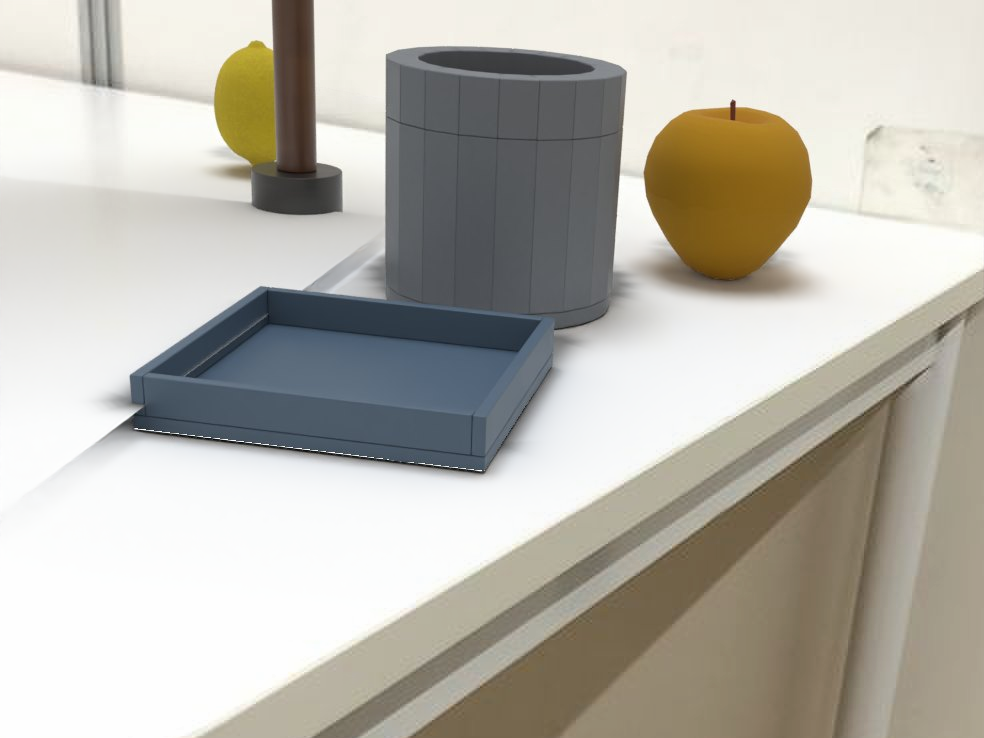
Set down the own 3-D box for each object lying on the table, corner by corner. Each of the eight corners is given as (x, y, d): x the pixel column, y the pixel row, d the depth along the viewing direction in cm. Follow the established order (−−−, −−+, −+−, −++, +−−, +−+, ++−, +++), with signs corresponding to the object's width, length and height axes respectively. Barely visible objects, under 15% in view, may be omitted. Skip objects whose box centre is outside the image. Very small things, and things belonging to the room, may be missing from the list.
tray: (133, 430, 54) (128, 374, 53) (261, 332, 66) (259, 285, 65) (484, 473, 53) (486, 416, 52) (552, 365, 64) (555, 317, 63)
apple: (674, 243, 86) (688, 80, 82) (822, 269, 83) (845, 100, 79) (609, 274, 79) (621, 97, 75) (769, 304, 76) (791, 120, 72)
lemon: (199, 168, 96) (192, 37, 93) (265, 159, 100) (261, 33, 97) (257, 183, 93) (252, 48, 90) (322, 173, 97) (320, 43, 94)
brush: (239, 228, 82) (227, -69, 76) (271, 210, 87) (262, -72, 80) (326, 237, 82) (322, -61, 75) (354, 219, 86) (352, -65, 80)
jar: (356, 316, 69) (355, 64, 64) (419, 261, 78) (422, 40, 74) (589, 341, 68) (606, 87, 63) (623, 283, 77) (640, 59, 72)
